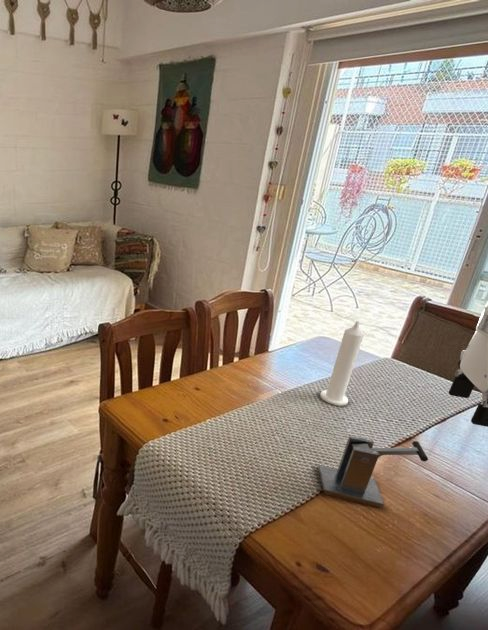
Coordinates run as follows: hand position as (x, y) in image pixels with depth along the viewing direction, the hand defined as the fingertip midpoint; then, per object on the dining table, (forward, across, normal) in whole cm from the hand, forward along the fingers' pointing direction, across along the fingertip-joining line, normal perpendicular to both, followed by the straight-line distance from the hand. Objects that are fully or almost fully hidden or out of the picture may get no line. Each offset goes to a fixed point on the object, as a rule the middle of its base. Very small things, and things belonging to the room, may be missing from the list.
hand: (469, 409), depth 82 cm
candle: (+24, +38, +11) cm, 46 cm away
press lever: (+14, 0, +9) cm, 17 cm away
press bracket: (+24, 0, +14) cm, 28 cm away
